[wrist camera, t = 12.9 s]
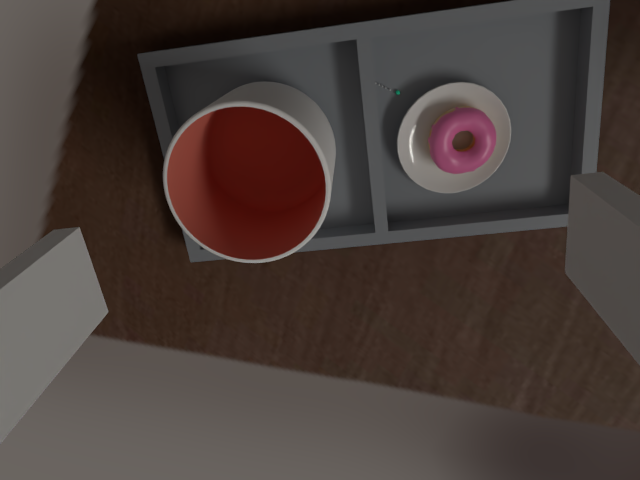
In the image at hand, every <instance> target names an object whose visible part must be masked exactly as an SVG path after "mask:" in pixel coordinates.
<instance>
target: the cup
mask: <svg viewBox="0 0 640 480" xmlns="http://www.w3.org/2000/svg"><path fill="white" fill-rule="evenodd" d="M335 158H336V145H335V139H334V134H333V131H332V128H331V126H330V123H329V121H328V119H327V117H326V116H325V114H324V113H323V111H322V110H321V109H320V107H319V106H318V105H317V104H316V103H315V102H314V101H313V100H312V99H310V98H309V97H308V96H307V95H306V94H304V93H303V92H301V91H299V90H297V89H295V88H293V87H291V86H288V85H285V84H281V83H276V82H253V83H249V84H245V85H242V86H240V87H237V88H235V89H233V90H232V91H230V92H228V93H227V94H225V95H224V96H222V97H221V98H219V99H218V100H216V101H214V102H213V103H211V104H210V105H208V106H207V107H205V108H204V109H202V110H201V111H199V112H197V113H196V114H194V115H193V116H192V117H190V118H189V119H188V120H187V121H186V122H185V123H184V124H183V125H182V126H181V127H180V128H179V130H178V131H177V132H176V134H175V135H174V137H173V139H172V141H171V143H170V144H169V147H168V150H167V152H166V156H165V160H164V166H163V185H164V191H165V196H166V199H167V202H168V205H169V208H170V210H171V212H172V214H173V216H174V217H175V219H176V221H177V222H178V224H179V225H180V227H181V228H182V229H183V230H184V231H185V233H186V234H187V235H188V236H189V237H190V238H191V239H193V240H194V241H195V242H196V243H198V244H199V245H200V246H202V247H203V248H204V249H206V250H208V251H209V252H211V253H213V254H215V255H218V256H220V257H223V258H226V259H229V260H233V261H237V262H244V263H263V262H269V261H274V260H277V259H281V258H283V257H286V256H288V255H290V254H292V253H294V252H295V251H297V250H299V249H300V248H301V247H303V246H304V245H305V244H306V243H307V242H308V241H309V240H311V238H312V237H313V236H314V235H315V234H316V232H317V231H318V230H319V228H320V226H321V225H322V223H323V221H324V219H325V217H326V214H327V211H328V208H329V203H330V198H331V190H332V182H333V174H334V167H335Z"/></svg>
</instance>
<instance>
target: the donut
mask: <svg viewBox="0 0 640 480" xmlns="http://www.w3.org/2000/svg"><path fill="white" fill-rule="evenodd" d="M375 83H376V82H375ZM379 86H380V84H379ZM382 87H383V85H382ZM385 89H386V87H385ZM389 90H390V88H389ZM395 93H396V94H397V95H399V94H400V91H399V90H397V91H396V92H395ZM510 140H511V123H510V118H509V115H508V112H507V109H506V108H505V106H504V104H503V103H502V101H501V100H500V99H499V98H498V97H497V96H496V95H495V94H494V93H493V92H492V91H490V90H488V89H487V88H485V87H483V86H480V85H477V84H474V83H468V82H454V83H447V84H444V85H441V86H438V87H436V88H434V89H432V90H430V91H428V92H426V93H425V94H424V95H422V96H421V97H420V98H418V99H417V100H416V101H415V102H414V104H413V105H412V106H411V107H410V108H409V109H408V111H407V113H406V114H405V116H404V118H403V120H402V122H401V125H400V127H399V131H398V137H397V152H398V157H399V161H400V163H401V165H402V167H403V170H404V171H405V172H406V174H407V175H408V176H409V178H410V179H412V180H413V181H414V182H415V183H416V184H417V185H419V186H421V187H423V188H425V189H427V190H430V191H434V192H438V193H458V192H461V191H465V190H469V189H471V188H473V187H475V186H477V185H479V184H481V183H482V182H483V181H485V180H486V179H488V178H489V177H490V176H491V175H492V174H493V173H494V172H495V171H496V170H497V168H498V167H499V166H500V164H501V163H502V162H503V160H504V158H505V155H506V153H507V151H508V148H509V144H510Z"/></svg>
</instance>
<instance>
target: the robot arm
mask: <svg viewBox="0 0 640 480" xmlns="http://www.w3.org/2000/svg"><path fill="white" fill-rule="evenodd" d="M565 273H566V275H567V276H568V277H569V278H570V280H571V281H572V282H573V283H574V284H575V286H576V287H577V288H578V289H579V291H580V292H581V293H582V294H583V296H584V297H585V298H586V299H587V301H588V302H589V303H590V304H591V306H592V307H593V308H594V309H595V311H596V312H597V313H598V314H599V316H600V317H601V318H602V319H603V321H604V322H605V323H606V324H607V325H608V327H609V328H610V329H611V330H612V332H613V333H614V334H615V335H616V337H617V338H618V339H619V340H620V342H621V343H622V344H623V345H624V347H625V348H626V349H627V350H628V352H629V353H630V354H631V355H632V357H633V358H634V359H635V360H636V362H637V363H638V364H639V365H640V196H639V195H638V194H636V193H635V192H633V191H632V190H630V189H629V188H627V187H625V186H624V185H622V184H621V183H619V182H618V181H616V180H615V179H613V178H612V177H610V176H608V175H607V174H605V173H604V172H596V173H587V174H577V175H571V179H570V196H569V212H568V229H567V245H566V262H565ZM107 313H108V309H107V306H106V303H105V300H104V297H103V295H102V292H101V289H100V286H99V283H98V280H97V277H96V274H95V271H94V268H93V265H92V262H91V259H90V256H89V254H88V251H87V248H86V245H85V242H84V239H83V236H82V233H81V230H80V227H76V228H67V229H57V230H53V231H52V232H50V233H49V234H47V235H46V236H45V237H43V238H42V239H41V240H39V241H38V242H36V243H35V244H34V245H32V246H31V247H30V248H28V249H27V250H25V251H24V252H23V253H21V254H20V255H19V256H18V257H16V258H15V259H13V260H12V261H10V262H9V263H8V264H6V265H5V266H4V267H2V268H1V269H0V444H1V443H2V441H3V440H4V439H5V438H6V436H7V435H8V434H9V433H10V432H11V430H12V429H13V428H14V427H15V425H16V424H17V423H18V422H19V421H20V419H21V418H22V417H23V416H24V414H25V413H26V412H27V411H28V410H29V408H30V407H31V406H32V405H33V403H34V402H35V401H36V400H37V399H38V397H39V396H40V395H41V394H42V392H43V391H44V390H45V389H46V388H47V386H48V385H49V384H50V382H51V381H52V380H53V379H54V378H55V376H56V375H57V374H58V373H59V372H60V370H61V369H62V368H63V367H64V366H65V364H66V363H67V362H68V361H69V359H70V358H71V357H72V356H73V355H74V353H75V352H76V351H77V350H78V348H79V347H80V346H81V345H82V344H83V342H84V341H85V340H86V339H87V337H88V336H89V335H90V334H91V333H92V331H93V330H94V329H95V328H96V326H97V325H98V324H99V323H100V322H101V320H102V319H103V318H104V317H105V315H106V314H107Z"/></svg>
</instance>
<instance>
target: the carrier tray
mask: <svg viewBox="0 0 640 480" xmlns="http://www.w3.org/2000/svg"><path fill="white" fill-rule="evenodd" d="M609 8H610V0H508V1H501V2H494V3H487V4H480V5H473V6H466V7H459V8H452V9H445V10H438V11H431V12H424V13H417V14H410V15H403V16H396V17H389V18H382V19H375V20H368V21H361V22H354V23H347V24H340V25H333V26H326V27H319V28H312V29H305V30H298V31H291V32H284V33H277V34H270V35H263V36H256V37H249V38H242V39H235V40H228V41H221V42H214V43H207V44H200V45H193V46H186V47H179V48H172V49H165V50H158V51H151V52H146V53H141V54H137V56H138V60H139V64H140V67H141V71H142V75H143V79H144V83H145V87H146V91H147V95H148V99H149V102H150V106H151V110H152V114H153V118H154V122H155V126H156V130H157V133H158V137H159V141H160V145H161V149H162V153H163V157H164V160H165V156H166V152H167V150H168V147H169V144H170V143H171V141H172V139H173V137H174V135H175V134H176V132H177V131H178V130H179V128H180V127H181V126H182V125H183V124H184V123H185V122H186V121H187V120H188V119H189V118H190V117H192V116H193V115H194V114H196V113H197V112H199V111H201V110H202V109H204V108H205V107H207V106H208V105H210V104H211V103H213V102H214V101H216V100H218V99H219V98H221V97H222V96H224V95H225V94H227V93H228V92H230V91H232V90H233V89H235V88H237V87H240V86H242V85H245V84H249V83H253V82H276V83H281V84H285V85H288V86H291V87H293V88H295V89H297V90H299V91H301V92H303V93H304V94H306V95H307V96H308V97H309V98H310V99H312V100H313V101H314V102H315V103H316V104H317V105H318V106H319V107H320V109H321V110H322V111H323V113H324V114H325V116H326V117H327V119H328V121H329V123H330V126H331V128H332V131H333V134H334V139H335V145H336V158H335V167H334V174H333V182H332V190H331V198H330V203H329V208H328V211H327V214H326V217H325V219H324V221H323V223H322V225H321V226H320V228H319V230H318V231H317V232H316V234H315V235H314V236H313V237H312V238H311V240H309V241H308V242H307V243H306V244H305V245H304V246H303V247H301V248H300V249H299V250H297V251H295V252H304V251H314V250H325V249H335V248H346V247H356V246H366V245H377V244H387V243H398V242H408V241H419V240H429V239H440V238H450V237H461V236H471V235H482V234H492V233H502V232H513V231H523V230H534V229H544V228H555V227H565V226H568V212H569V196H570V179H571V175H577V174H587V173H596V170H597V157H598V145H599V132H600V120H601V107H602V95H603V83H604V70H605V58H606V45H607V33H608V20H609ZM375 82H376V83H375ZM454 82H468V83H474V84H477V85H480V86H483V87H485V88H487V89H488V90H490V91H492V92H493V93H494V94H495V95H496V96H497V97H498V98H499V99H500V100H501V101H502V103H503V104H504V106H505V108H506V109H507V112H508V115H509V118H510V123H511V140H510V144H509V148H508V151H507V153H506V155H505V158H504V160H503V162H502V163H501V164H500V166H499V167H498V168H497V170H496V171H495V172H494V173H493V174H492V175H491V176H490V177H489V178H488V179H486V180H485V181H483V182H482V183H481V184H479V185H477V186H475V187H473V188H471V189H469V190H465V191H461V192H458V193H438V192H434V191H430V190H427V189H425V188H423V187H421V186H419V185H417V184H416V183H415V182H414V181H413V180H412V179H410V178H409V176H408V175H407V174H406V172H405V171H404V170H403V167H402V165H401V163H400V161H399V157H398V152H397V137H398V131H399V127H400V125H401V122H402V120H403V118H404V116H405V114H406V113H407V111H408V109H409V108H410V107H411V106H412V105H413V104H414V102H415V101H416V100H417V99H418V98H420V97H421V96H422V95H424V94H425V93H426V92H428V91H430V90H432V89H434V88H436V87H438V86H441V85H444V84H447V83H454ZM379 84H380V86H379ZM382 85H383V87H382ZM385 87H386V89H385ZM389 88H390V90H389ZM397 90H399V91H400V94H399V95H397V94H396V93H395V92H396V91H397ZM182 231H183V235H184V238H185V242H186V246H187V250H188V254H189V258H190V262H199V261H210V260H220V259H226V258H223V257H220V256H218V255H215V254H213V253H211V252H209V251H208V250H206V249H204V248H203V247H202V246H200V245H199V244H198V243H196V242H195V241H194V240H193V239H191V238H190V237H189V236H188V235H187V234H186V233H185V231H184V230H183V229H182Z"/></svg>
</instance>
